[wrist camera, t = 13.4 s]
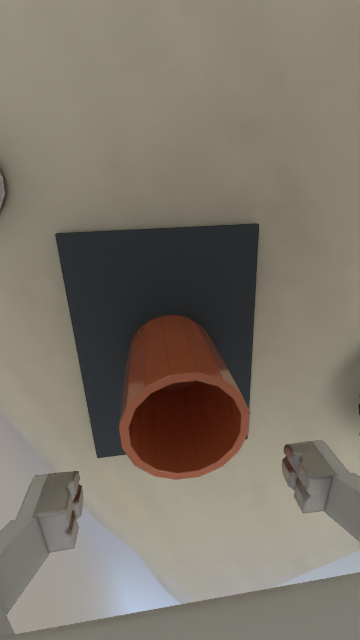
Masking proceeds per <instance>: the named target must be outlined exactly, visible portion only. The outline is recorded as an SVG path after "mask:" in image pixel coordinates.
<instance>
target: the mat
mask: <svg viewBox="0 0 360 640" xmlns="http://www.w3.org/2000/svg"><path fill="white" fill-rule="evenodd" d="M258 235H259V224H241V225H220V226H200V227H179V228H158V229H138V230H117V231H96V232H76V233H58V234H56V235H55V236H56V241H57V246H58V252H59V257H60V262H61V268H62V273H63V278H64V284H65V289H66V294H67V300H68V305H69V310H70V316H71V321H72V326H73V332H74V337H75V342H76V347H77V353H78V358H79V363H80V369H81V374H82V379H83V385H84V390H85V395H86V401H87V406H88V411H89V417H90V422H91V427H92V433H93V438H94V443H95V449H96V454H97V458H102V457H110V456H118V455H126V453H125V451H124V450H123V449H122V445H121V438H120V431H119V424H120V415H121V406H122V397H123V388H124V379H125V371H126V362H127V354H128V351H129V346H130V343H131V340H132V338H133V337H134V335H135V333H136V332H137V331H138V330H139V329H140V328H141V327H142V326H143V325H144V324H146V323H147V322H149V321H151V320H153V319H155V318H158V317H161V316H167V315H178V316H184V317H187V318H190V319H192V320H194V321H196V322H197V323H198V324H200V325H201V326H202V327H203V328H204V329H205V330H206V332H207V333H208V334H209V336H210V338H211V340H212V341H213V343H214V345H215V347H216V349H217V350H218V352H219V354H220V356H221V358H222V359H223V361H224V363H225V365H226V367H227V368H228V370H229V372H230V374H231V376H232V377H233V379H234V381H235V383H236V385H237V387H238V388H239V390H240V392H241V394H242V396H243V398H244V400H245V403H246V405H247V407H248V409H249V400H250V382H251V364H252V345H253V327H254V308H255V290H256V272H257V253H258ZM247 437H248V435H247V436H246V438H245V439H247Z"/></svg>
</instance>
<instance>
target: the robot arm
mask: <svg viewBox="0 0 360 640" xmlns="http://www.w3.org/2000/svg"><path fill="white" fill-rule="evenodd" d="M284 453H285V455H286V457H285V458H284V459H283V460H282V470H283V475H284V478H285V480H286V482H287V484H288V486H289V487H291V488H292V489H294V490H295V493H294V497H295V499H296V501H297V503H298V505H299V507H300V509H301V510H302V512H303V513H310V512H318V511H325V513H326V514H328V515H329V516H330V517H331V518H332V519H333V520H335V521H336V522H337V523H338V524H339V525H340V526H342V527H343V528H344V529H345V530H346V531H347V532H349V533H350V534H351V535H352V536H353V537H355V538H356V539H357V540H358V541H359V542H360V476H358V475H356V474H354V473H349V472H348V470H347V469H346V468H345V467H344V465H343V464H342V463H341V462H340V460H339V459H338V458H337V457H336V455H335V454H334V453H333V452H332V450H331V449H330V448H329V447H328V445H327V444H326V443H325V442H324V441H323V440H316V441H310V442H308V441H307V442H300V443H293V444H286V445H285V447H284ZM79 480H80V476H79V472H78V471H72V472H61V473H51V474H44V475H35V477H34V478H33V479H32V481H31V484H30V486H29V488H28V491H27V493H26V496H25V498H24V501H23V503H22V505H21V508H20V510H19V513H18V515H17V517H16V520H12V521H10V522H9V523H8V524H7V525H6V526H5V527H4V528H3V529H2V530H1V531H0V640H360V572H359V573H354V574H348V575H342V576H337V577H331V578H326V579H320V580H315V581H309V582H303V583H298V584H292V585H287V586H281V587H275V588H270V589H264V590H259V591H253V592H248V593H242V594H236V595H231V596H225V597H220V598H214V599H209V600H203V601H198V602H192V603H186V604H181V605H175V606H170V607H165V608H159V609H154V610H148V611H142V612H137V613H132V614H125V615H120V616H114V617H109V618H104V619H98V620H92V621H87V622H81V623H76V624H70V625H64V626H59V627H54V628H48V629H42V630H37V631H31V632H26V633H20V634H15V633H14V631H13V629H12V627H11V625H10V622H9V620H8V618H7V616H6V615H7V614H8V612H9V610H10V609H11V608H12V606H13V605H14V604H15V602H16V601H17V599H18V598H19V596H20V595H21V594H22V592H23V591H24V589H25V588H26V587H27V585H28V584H29V582H30V581H31V579H32V578H33V576H34V575H35V574H36V572H37V571H38V569H39V568H40V566H41V565H42V564H43V562H44V561H45V559H46V558H47V557H48V555H49V553H51V552H56V551H62V550H67V549H73V548H75V542H76V538H77V533H78V528H79V527H78V523H77V519H78V518H79V517H80V516H81V513H82V508H83V489H82V486H81V485H79Z"/></svg>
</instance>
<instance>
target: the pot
mask: <svg viewBox="0 0 360 640" xmlns="http://www.w3.org/2000/svg"><path fill="white" fill-rule="evenodd" d="M249 415H250V412H249V409H248V407H247V405H246V403H245V400H244V398H243V396H242V394H241V392H240V390H239V388H238V387H237V385H236V383H235V381H234V379H233V377H232V376H231V374H230V372H229V370H228V368H227V367H226V365H225V363H224V361H223V359H222V358H221V356H220V354H219V352H218V350H217V349H216V347H215V345H214V343H213V341H212V340H211V338H210V336H209V334H208V333H207V332H206V330H205V329H204V328H203V327H202V326H201V325H200V324H198V323H197V322H196V321H194V320H192V319H190V318H187V317H184V316H178V315H167V316H161V317H158V318H155V319H153V320H151V321H149V322H147V323H146V324H144V325H143V326H142V327H141V328H140V329H139V330H138V331H137V332H136V333H135V335H134V337H133V338H132V340H131V343H130V346H129V351H128V354H127V362H126V371H125V379H124V388H123V397H122V406H121V415H120V424H119V431H120V438H121V445H122V449H123V450H124V451H125V453H126V454H127V456H128V457H129V458H130V460H131V461H132V462H133V464H134V465H135V466H137V467H139V468H141V469H142V470H144V471H146V472H148V473H149V474H151V475H154V476H157V477H163V478H169V479H175V480H176V479H177V480H178V479H185V478H193V477H199V476H202V475H204V474H207V473H209V472H211V471H213V470H215V469H218V468H220V467H221V466H223V465H224V464H225V463H226V462H227V461H229V460H230V459H231V458H232V457H233V456H234V455H235V454H236V453H237V452H238V451H239V450H240V448H241V446H242V444H243V442H244V440H245V438H246V436H247V435H248V432H249Z"/></svg>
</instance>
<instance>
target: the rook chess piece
mask: <svg viewBox="0 0 360 640" xmlns="http://www.w3.org/2000/svg"><path fill="white" fill-rule="evenodd" d="M4 196H5V191H4V183H3V177H2V175H1V173H0V209H1V205H2V202H3V199H4Z"/></svg>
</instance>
